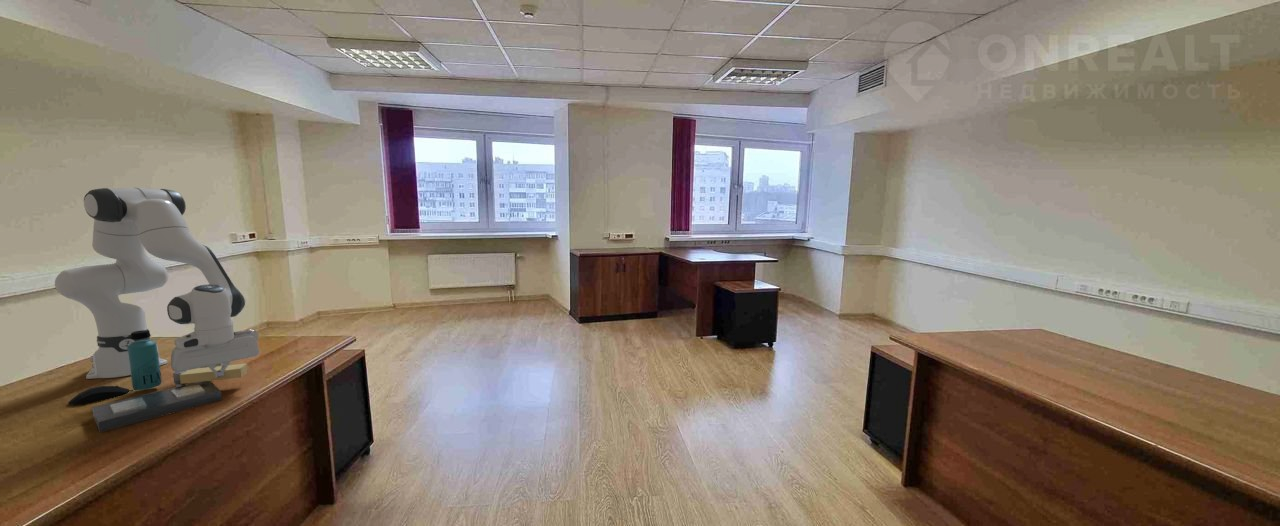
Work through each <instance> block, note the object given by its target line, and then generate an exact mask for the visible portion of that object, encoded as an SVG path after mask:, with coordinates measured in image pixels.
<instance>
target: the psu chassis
mask: <svg viewBox="0 0 1280 526" xmlns="http://www.w3.org/2000/svg"><path fill="white" fill-rule="evenodd" d="M222 400H223V398H222V392H221V390H220V389H219V388H218V387H217V386H216V385H215V384H214V383H213V382H212V381H203V382H193V383H184V384H181V383H175V387H173V388H171V387H170V388H168V389H163V390H160V391H154V392H151V393H146V394H142V395H141V394H140V395H138V396H134V397H129V398H125V399H120V400H117V401H116V400H115V401H112V402H108V403H103V404H100V405H95V406H92V407H91V410H92V417H93V419H94V421H95V424H96V426H97V428H98V431H99V433H103V432H107V431H110V430H113V429H114V430H115V429H118V428H121V426H122V427H126V426H129V424H130V425H133V424H136V423H141V422H144V420H145V421H148V420H151V418H152V419H155V417H156V418H159V416H160V417H163V416H166V414H167V415H170V414H169V413H171V414H174V413H173V412H175V413H179V412H182V411H185V409H186V410H189V409H188V408H190V409H193V408H192V407H194V408H197V407H201V406H204V404H205V405H208V404H209V405H210V404H213V403H216V402H219V401H222ZM200 405H201V406H200ZM196 406H197V407H196ZM181 410H182V411H181ZM162 415H163V416H162ZM147 419H148V420H147ZM140 421H141V422H140ZM125 425H126V426H125Z"/></svg>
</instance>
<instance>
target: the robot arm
mask: <svg viewBox="0 0 1280 526" xmlns="http://www.w3.org/2000/svg"><path fill="white" fill-rule="evenodd" d="M183 197H184V196H182V195H181V194H180V193H179V192H178V191H175V190H171V189H168V188H167V189H166V188H160V189H158V188H149V187H148V188H147V187H125V188H124V187H123V188H108V187H103V188H95V189H90V190H89V191H87V193H86V194H85V195H84V198H83V206H84V209H85V212H86V214H87V215H88V216H89V217H90V218H92V219H94V221H93V231H92V242H91V243H92V244H91V245H92V248H93V250H94V251H95V252H96V253H97V254H99V255H100V256H103V257H106V258H108V259H109V258H110V259H112V260H115V262H114V263H109V264H99V265H98V264H97V265H85V266H79V267H74V268H71V269H70V268H69V269H66V270H62V271H61V272H60V273H58V275H57V276H56V277H55V280H54V287H55V289H56V291H57V292H58V293H59V294H60V295H61V296H63V297H64V298H67V299H69V300H73V301H76V302H78V303H79V304H81V305H83V306H85V307H86V308H87V309H88V310H89V311H90V312H91V314H92V315H93V317H94V321H95V324H96V329H97V330H96V331H97V334H98V335H97V336H96V343H97V346H98V349H97V350H96V351H94V353H93V354H92V355H90V356H89V359H90V363H92V365H91V368H90V370H89V372H88V373H87V374H86V375H85V376H86V377H85V379H86V380H89V379H90V380H91V379H113V378H121V377H127V376H131V368H130V362H129V355H128V349H127V347H128V346H129V345H130V344H131V343H132V342H135V341H140V340H151V337H148V338H144V339H135V340H133V339H131V333H132V332H135V331H141V330H149V328H147V320H146V313H145V311H144V309H143V307H141V306H139V305H137V304H132V303H126V302H122V301H121V299H120V298H119V296H120V295H127V294H135V293H143V292H149V291H151V290H152V291H153V290H156V289H158V288H162V287H163V286H165V285H166V284H167V283H168V279H169V273H168V269H166V267H165V266H164V265H162V264H161V263H159V262H156V261H154V260H153V259H151V258H150V257H149V256H148V255H147V253H146V251H147V252H148V253H149V254H150V255H152V256H153V257H156V258H158V259H161V260H165V261H171V262H176V263H181V264H186V265H190V266H192V267H195V268H197V269H198V270H200V271H201V273H202V274H203V276H204V277H205V279H206V281H207V283H208V284H201V285H196V286H194V287H193V288H192V289H191V291H189V292H187V293H185V294H181V295H178V296H175V297H172V299H171V300H170V301H169V302H168V304H167V306H166V307H167V309H166V310H167V311H166V312H167V316H168V318H169V320H171V321H172V322H174V323H176V324H179V325H191V324H194V328H193V330H194V331H193V332H190V333H187V334H185V335H182V336H179V337H177V338H175V339H174V341H173V342H174V345H175V347H174V348H173V349H172V351H171V357H170V368H171V370H172V371H173V372H174V373H175V372H182V371H187V370H191V369H196V368H201V367H206V366H208V367H209V368H210V369H211V370H212V371H213V372H214V376H215V378H217V377H221V376H224V371H225V369H226V368H227V366H228V362H234V361H239V360H243V359H249V358H253V357H257V356H258V355H259V354H260V347H259V344H258V339H259V333H258V331H256V330H253V329H246V330H239V331H235V330H234V322H233V321H232V318H234V317H237V316H238V315H239V314H240V313H241V312H242V311H243V309H244V308H245V305H246V300H245V298H244V295H243V293H242V292H240V290H239V289H238V288H237V287H236V286H235V285H234V283H233V281H232V280H231V278H230V277H229V275H228V273H227V272H226V271H225V269H224V267H223V266H222V264H221V262H220V261H219V259H218V258H217V257H216V255H215V253H214V252H213V251H212V249H210V247H208V246H207V245H204V244H202V243H201V242H199V241H198V240H197V239H196V238H195V237H194V236H193V234H192V233H191V232H190V229H189V227H188V225H187V222H186V220H185V218H184V216H183V215H184V214H185V212H186V209H187V208H186V201H185V199H184V198H183ZM156 345H157V351H158V353H159V348H158V344H156ZM158 355H159V356H158V358H159V361H160V363H159V365H160V366H163V365H165V364H168V360H167V359H164V358H161V357H160V353H159V354H158ZM220 363H221V365H222V367H221V369H220V370H219V371H216V370H215V369H214V368H216V364H220Z"/></svg>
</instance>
